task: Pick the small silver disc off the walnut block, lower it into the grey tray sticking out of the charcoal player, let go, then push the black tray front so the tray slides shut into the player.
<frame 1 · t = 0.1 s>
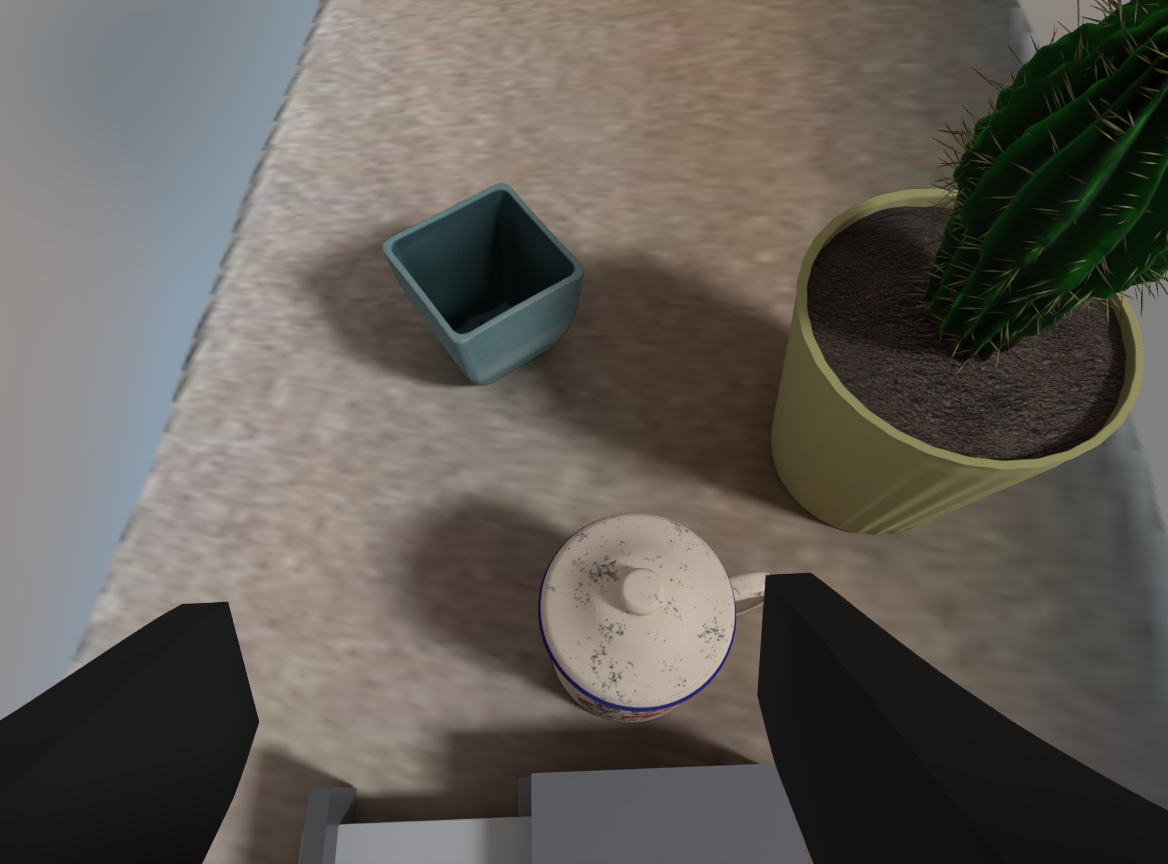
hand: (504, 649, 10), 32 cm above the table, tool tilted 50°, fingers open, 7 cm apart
teacup with lid: (651, 635, 42), on the table
flower pot: (498, 344, 51), on the table
potted cactus: (857, 452, 47), on the table
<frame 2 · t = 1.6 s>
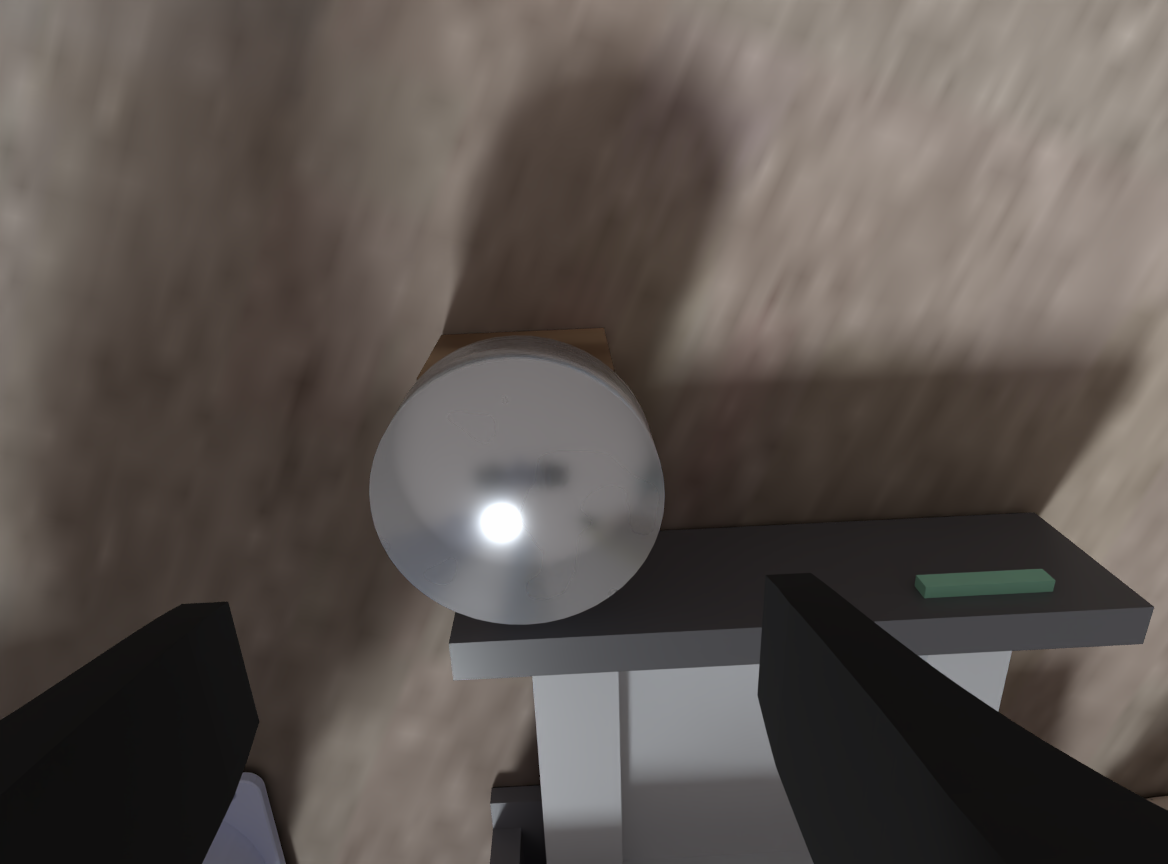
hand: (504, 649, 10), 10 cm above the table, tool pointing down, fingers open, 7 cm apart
tray: (763, 750, 20), point 2 cm above the table, slide at 9.0 cm
disc: (522, 463, 16), point 3 cm above the table, touching walnut block
walnut block: (528, 407, 19), on the table
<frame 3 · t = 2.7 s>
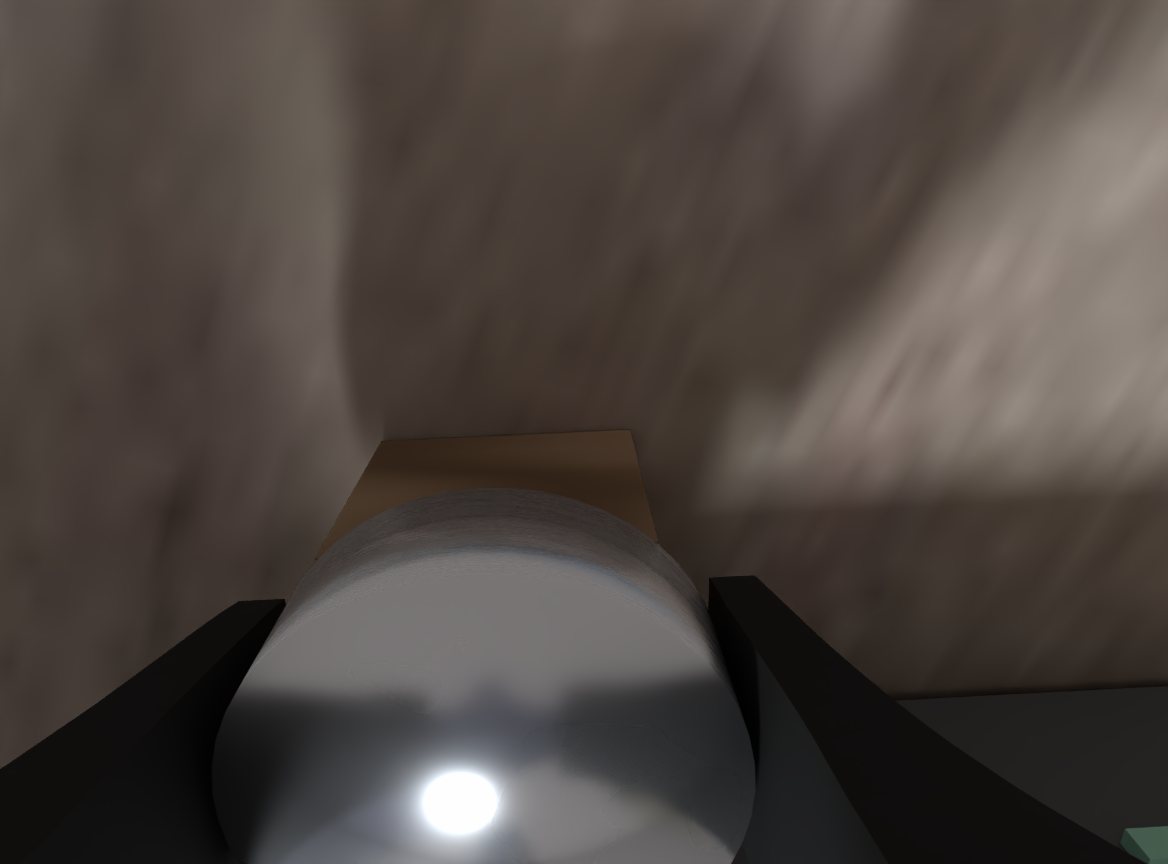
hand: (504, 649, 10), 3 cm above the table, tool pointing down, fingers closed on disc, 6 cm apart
disc: (500, 685, 9), point 3 cm above the table, touching gripper, walnut block
walnut block: (514, 543, 13), on the table
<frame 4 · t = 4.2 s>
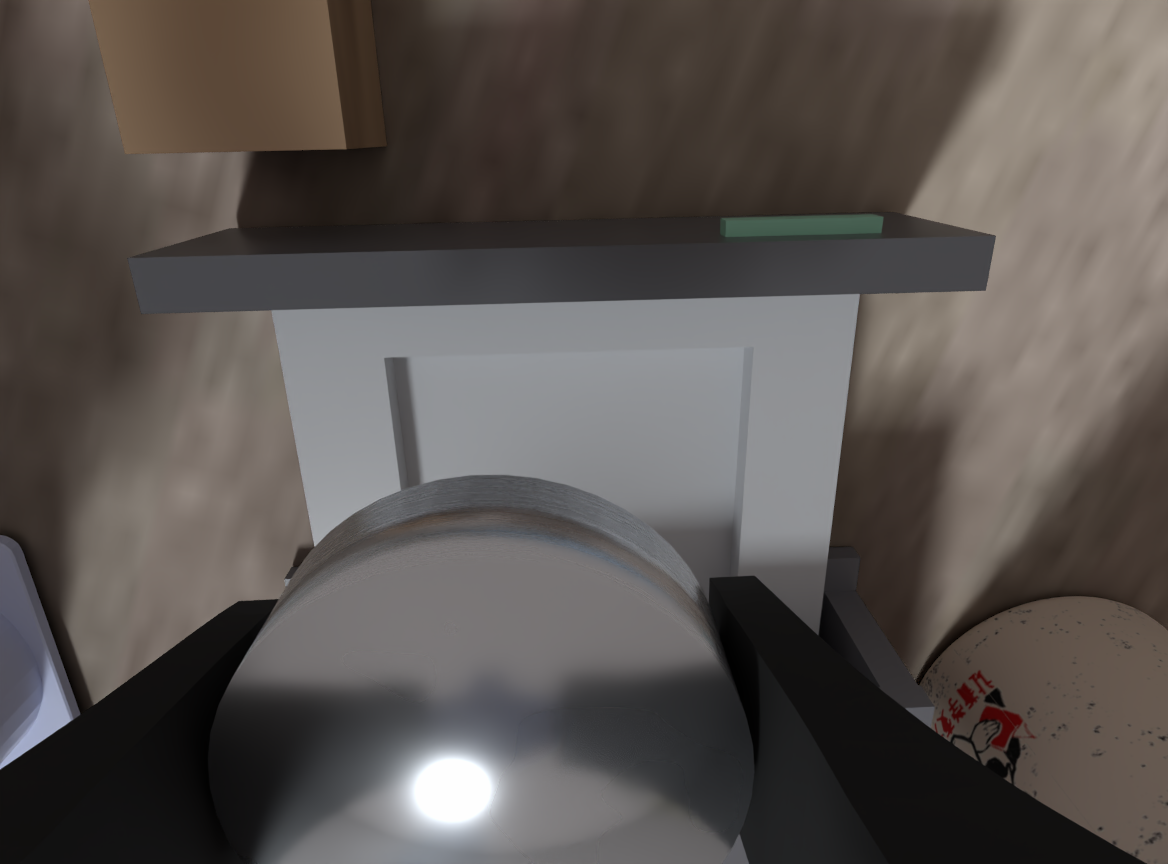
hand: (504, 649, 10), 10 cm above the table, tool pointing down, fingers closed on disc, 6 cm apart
tray: (573, 485, 17), point 2 cm above the table, slide at 9.0 cm
disc: (498, 674, 9), point 11 cm above the table, touching gripper
teacup with lid: (1032, 731, 24), on the table
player: (579, 732, 23), on the table
walnut block: (282, 49, 16), on the table
when the fingers open (3 cm above the table, at t = 6.0 s): disc drops 2 cm, resting on tray.
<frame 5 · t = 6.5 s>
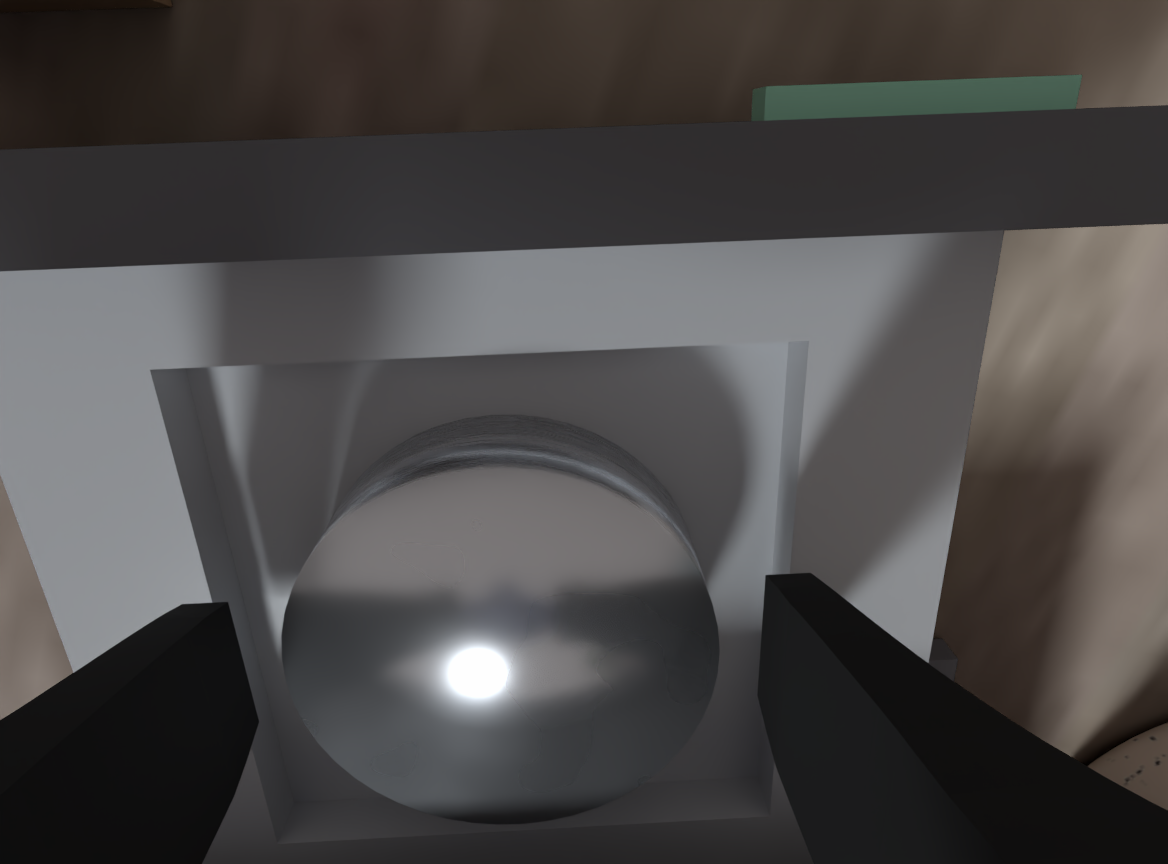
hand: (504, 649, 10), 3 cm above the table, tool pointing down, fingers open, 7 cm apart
tray: (504, 576, 10), point 2 cm above the table, slide at 9.0 cm, touching disc
disc: (511, 586, 11), point 2 cm above the table, touching tray
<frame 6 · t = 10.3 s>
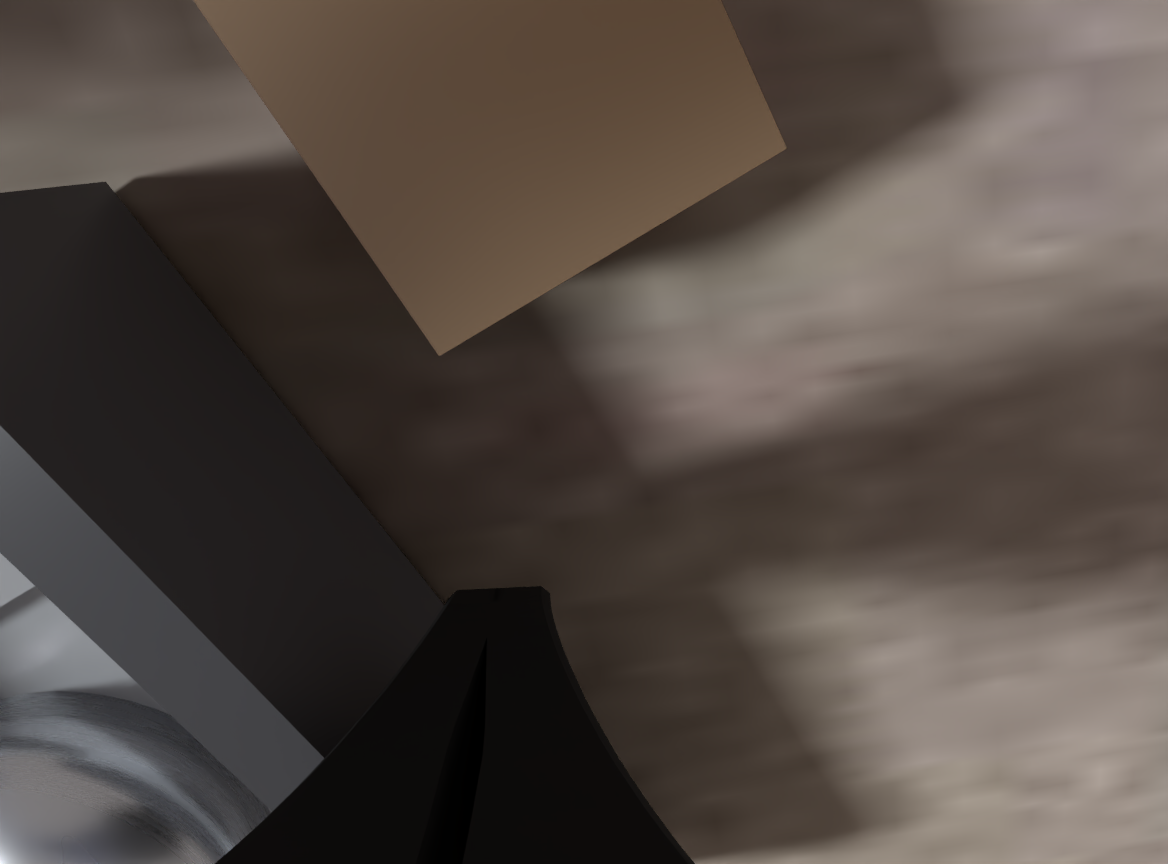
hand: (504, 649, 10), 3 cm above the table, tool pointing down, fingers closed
tray: (105, 840, 12), point 2 cm above the table, slide at 7.3 cm, touching disc, gripper
disc: (100, 825, 12), point 2 cm above the table, touching tray
walnut block: (515, 86, 10), on the table
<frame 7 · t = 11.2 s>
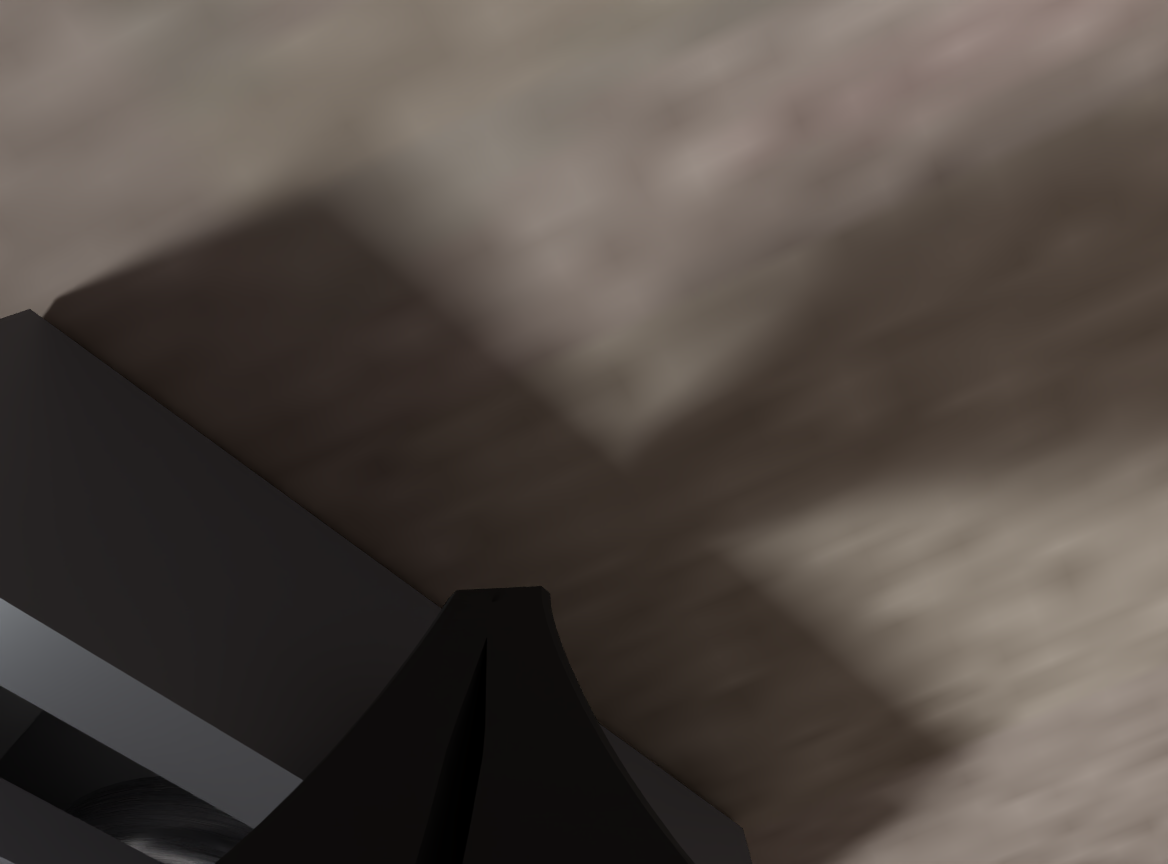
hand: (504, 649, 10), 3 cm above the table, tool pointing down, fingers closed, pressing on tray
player: (204, 840, 15), on the table
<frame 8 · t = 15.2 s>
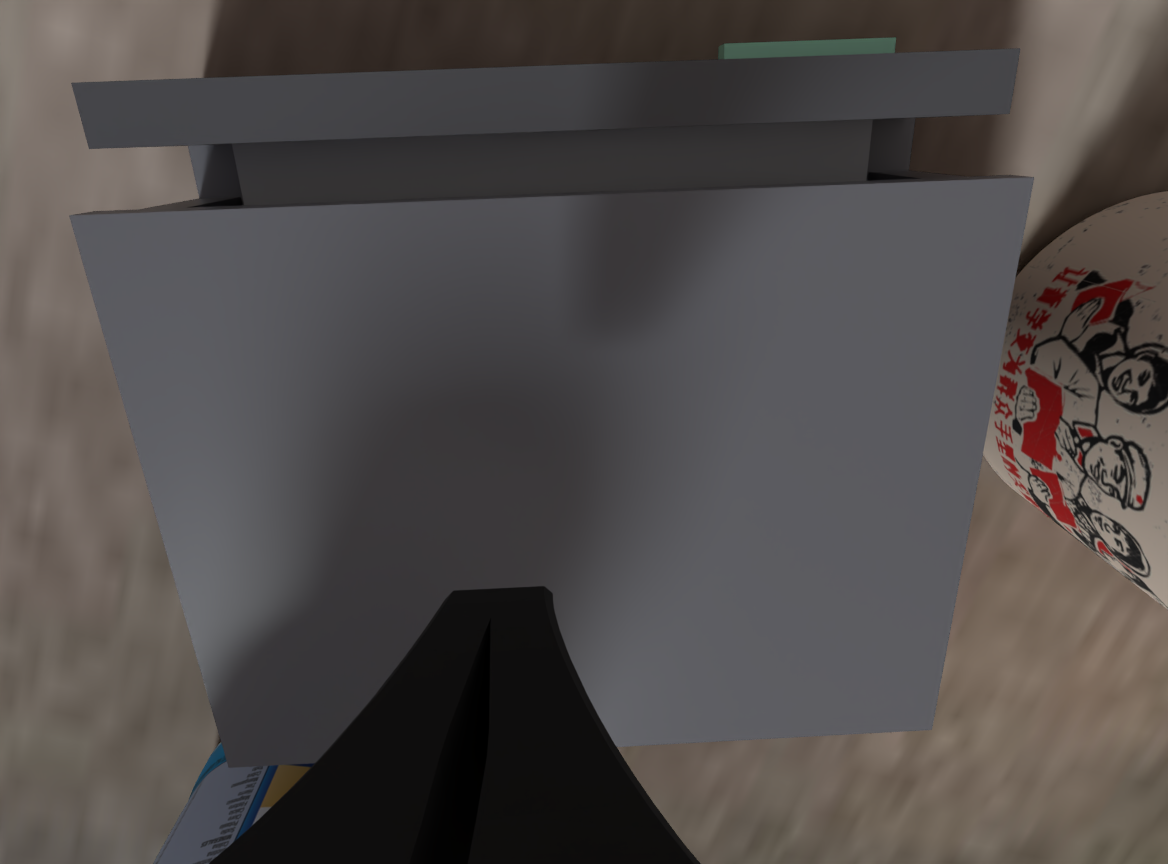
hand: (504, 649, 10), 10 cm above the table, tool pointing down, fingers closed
tray: (565, 367, 16), point 2 cm above the table, slide at 0.7 cm, touching disc, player
teacup with lid: (1118, 407, 20), on the table
beverage bottle: (341, 782, 24), on the table
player: (567, 400, 19), on the table
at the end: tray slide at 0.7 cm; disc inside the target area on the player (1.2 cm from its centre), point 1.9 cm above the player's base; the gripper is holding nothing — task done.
